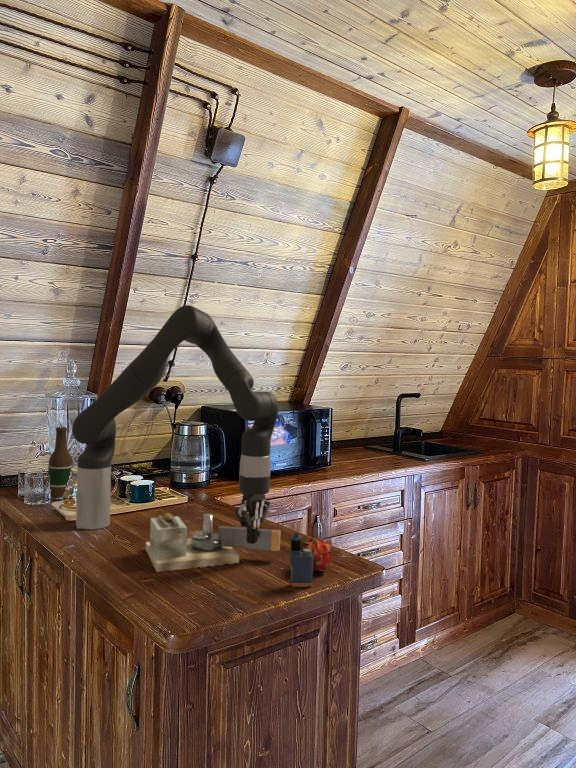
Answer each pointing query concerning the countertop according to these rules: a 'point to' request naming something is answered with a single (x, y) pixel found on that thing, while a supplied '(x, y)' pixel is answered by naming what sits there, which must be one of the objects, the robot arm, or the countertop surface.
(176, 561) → the stand
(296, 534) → the vaping device
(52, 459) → the beer bottle
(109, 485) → the robot arm
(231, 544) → the cam capstan
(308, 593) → the countertop surface
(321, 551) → the dragon fruit
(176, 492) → the countertop surface
